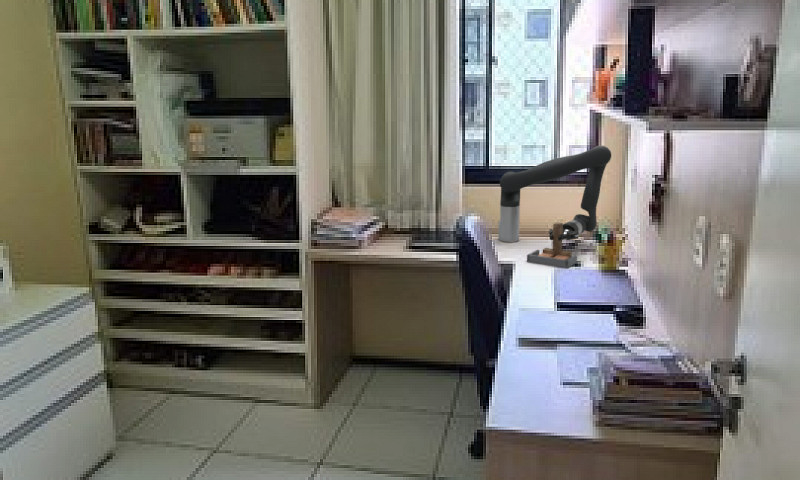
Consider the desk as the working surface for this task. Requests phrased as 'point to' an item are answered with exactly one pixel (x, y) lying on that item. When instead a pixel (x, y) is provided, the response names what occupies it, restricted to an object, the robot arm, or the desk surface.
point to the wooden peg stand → (557, 242)
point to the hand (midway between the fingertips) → (555, 238)
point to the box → (551, 260)
